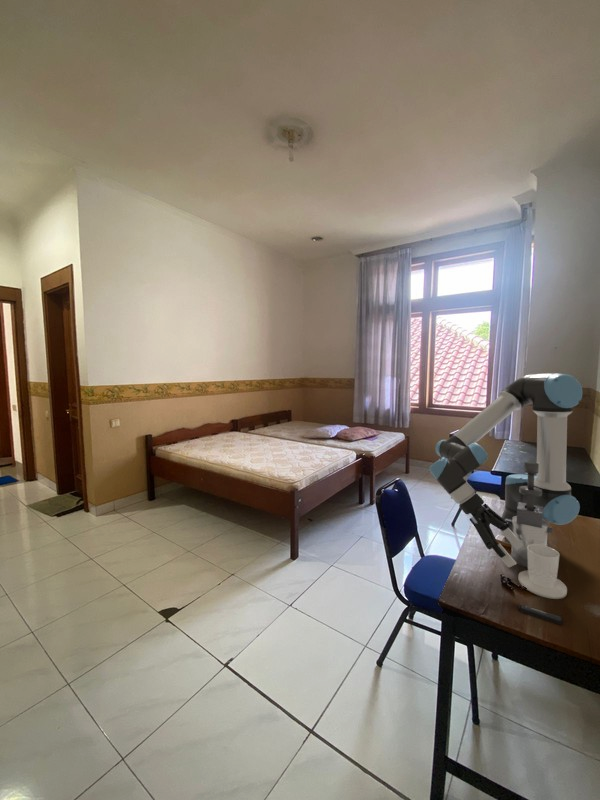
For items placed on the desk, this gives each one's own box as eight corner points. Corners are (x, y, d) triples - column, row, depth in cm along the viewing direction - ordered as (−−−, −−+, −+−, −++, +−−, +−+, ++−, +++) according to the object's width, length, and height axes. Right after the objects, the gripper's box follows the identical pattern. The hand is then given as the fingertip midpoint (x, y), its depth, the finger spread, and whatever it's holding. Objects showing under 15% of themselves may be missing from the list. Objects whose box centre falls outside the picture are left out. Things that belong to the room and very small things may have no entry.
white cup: (540, 572, 106) (541, 542, 105) (564, 587, 98) (566, 555, 97) (520, 576, 104) (521, 545, 103) (543, 592, 96) (544, 559, 96)
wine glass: (518, 509, 113) (519, 464, 111) (519, 503, 118) (520, 459, 117) (541, 514, 109) (542, 466, 108) (541, 508, 114) (543, 462, 113)
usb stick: (561, 620, 87) (562, 615, 87) (562, 627, 85) (562, 621, 85) (519, 606, 93) (519, 601, 93) (518, 612, 91) (518, 607, 91)
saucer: (519, 569, 110) (520, 566, 109) (566, 582, 102) (566, 579, 102) (516, 588, 100) (516, 584, 100) (567, 604, 93) (567, 600, 93)
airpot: (502, 560, 115) (504, 507, 114) (505, 548, 123) (507, 498, 121) (550, 573, 107) (553, 517, 105) (551, 559, 115) (553, 506, 113)
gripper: (468, 494, 125) (513, 545, 116) (446, 515, 106) (498, 579, 98) (484, 483, 121) (532, 535, 112) (464, 504, 102) (520, 568, 94)
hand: (516, 556), depth 105 cm, fingers open, 13 cm apart
